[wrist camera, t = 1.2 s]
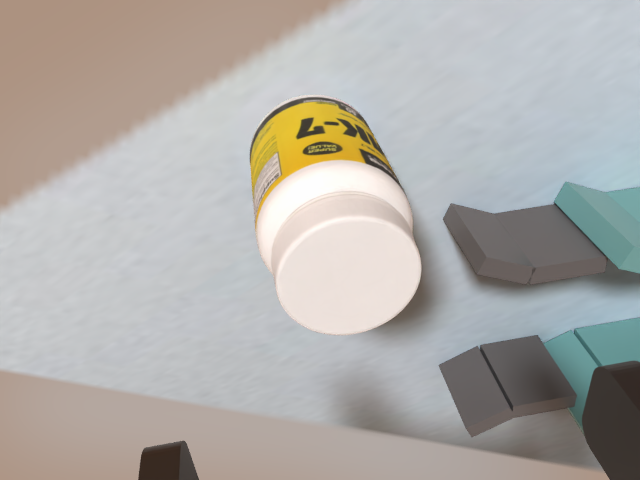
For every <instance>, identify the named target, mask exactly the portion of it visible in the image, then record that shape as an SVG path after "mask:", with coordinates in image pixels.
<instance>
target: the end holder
mask: <svg viewBox="0 0 640 480" xmlns="http://www.w3.org/2000/svg"><path fill="white" fill-rule="evenodd" d="M554 202H555V203H556V204H557V205H558V206H559V207H560V208H561V209H562V211H563V212H564V213H565V214H566V215H567V216H568V217H569V218H570V219H571V220H572V221H573V222H574V223H575V224H576V225H577V226H578V227H579V228H580V229H581V230H582V231H583V232H584V233H585V234H586V235H587V236H588V237H589V239H590V240H591V241H592V242H593V243H594V244H595V245H596V246H597V247H598V248H599V249H600V250H601V251H602V252H603V253H604V254H605V255H606V256H607V257H608V258H609V259H610V260H611V261H612V262H613V263H614V264H615V265H616V266H617V268H618V269H622V270H626V271H631V272H635V273H639V274H640V187H637V188H630V189H624V190H618V191H611V192H602V191H598V190H594V189H591V188H587V187H583V186H580V185H576V184H572V183H569V182H565V184H564V186H563V187H562V189H561V191H560V192H559V194H558V196H557V197H556V199H555V201H554ZM543 344H544V346H545V347H546V349H547V350H548V352H549V353H550V355H551V356H552V358H553V359H554V361H555V362H556V364H557V365H558V367H559V368H560V370H561V371H562V373H563V374H564V376H565V377H566V379H567V380H568V382H569V383H570V385H571V387H572V388H573V390H574V391H575V393H576V394H577V398H576V402H575V407H570V408H567V409H568V410H569V412H570V414H571V415H572V417H573V418H574V420H575V422H576V423H577V425H578V426H579V428H580V429H581V431H582V433H583V434H584V431H583V426H582V415H583V411H584V407H585V403H586V399H587V395H588V391H589V386H590V382H591V378H592V374H593V371H594V370H595V368H597V367H600V366H605V365H611V364H616V363H622V362H627V361H638V362H640V318H635V319H629V320H623V321H617V322H611V323H606V324H600V325H594V326H588V327H582V328H577V329H575V331H574V333H573V332H572V331H571V330H570V331H568V332H566V333H564V334H562V335H560V336H558V337H556V338H554V339H552V340H550V341H548V342H546V343H543ZM584 436H585V435H584Z"/></svg>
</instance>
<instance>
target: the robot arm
mask: <svg viewBox="0 0 640 480" xmlns="http://www.w3.org/2000/svg"><path fill="white" fill-rule="evenodd" d="M582 426H583V431H584V435H585V438H586V441H587V443H588V445H589V447H590V449H591V450H592V452H593V454H594V455H595V457H596V458H597V460H598V462H599V463H600V465H601V466H602V468H603V469H604V471H605V473H606V474H607V476H608V477H609V479H610V480H640V362H638V361H627V362H622V363H616V364H611V365H605V366H600V367H597V368H595V370H594V371H593V374H592V378H591V382H590V386H589V391H588V395H587V399H586V403H585V407H584V411H583V415H582ZM138 480H199V478H198V476H197V473H196V470H195V467H194V464H193V461H192V458H191V455H190V452H189V449H188V446H187V444H186V442H185V441H180V442H174V443H168V444H163V445H157V446H152V447H146V448H144V450H143V452H142V455H141V462H140V471H139V479H138Z"/></svg>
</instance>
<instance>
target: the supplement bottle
mask: <svg viewBox="0 0 640 480" xmlns="http://www.w3.org/2000/svg"><path fill="white" fill-rule="evenodd" d="M250 166H251V179H252V192H253V204H254V216H255V228H256V239H257V244H258V248H259V251H260V255H261V257H262V259H263V261H264V263H265V265H266V266H267V268H268V269H269V271H270V272H271V273H272V274H273V276H274V281H275V286H276V291H277V296H278V298H279V301H280V303H281V305H282V307H283V308H284V309H285V311H286V312H287V313H288V315H289V316H290V317H291V318H292V319H293V320H295V321H296V322H297V323H299V324H300V325H302V326H304V327H306V328H308V329H310V330H312V331H315V332H319V333H324V334H329V335H350V334H356V333H361V332H365V331H368V330H370V329H373V328H376V327H378V326H380V325H382V324H384V323H386V322H388V321H389V320H391V319H392V318H394V317H395V316H396V315H397V314H398V313H400V312H401V311H402V310H403V309H404V308H405V307H406V305H407V304H408V303H409V302H410V300H411V299H412V298H413V296H414V294H415V292H416V290H417V288H418V285H419V282H420V278H421V268H422V267H421V257H420V253H419V250H418V248H417V245H416V243H415V240H414V237H413V234H412V233H413V217H412V211H411V207H410V204H409V202H408V199H407V197H406V194H405V192H404V190H403V188H402V187H401V185H400V183H399V181H398V179H397V177H396V175H395V174H394V172H393V170H392V168H391V166H390V165H389V163H388V160H387V159H386V157H385V155H384V153H383V152H382V150H381V148H380V146H379V144H378V143H377V141H376V139H375V137H374V135H373V133H372V131H371V130H370V128H369V126H368V124H367V123H366V121H365V120H364V118H363V117H362V116H361V115H360V114H359V112H358V111H357V110H355V109H354V108H353V107H352V106H350V105H349V104H347V103H346V102H344V101H342V100H339V99H337V98H334V97H330V96H325V95H302V96H297V97H294V98H291V99H288V100H286V101H284V102H282V103H280V104H279V105H277V106H276V107H274V108H273V109H272V110H271V111H270V112H268V114H267V115H266V116H265V117H264V118H263V119H262V120H261V122H260V123H259V125H258V127H257V129H256V131H255V133H254V135H253V138H252V142H251V147H250Z"/></svg>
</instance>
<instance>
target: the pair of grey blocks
mask: <svg viewBox="0 0 640 480" xmlns="http://www.w3.org/2000/svg"><path fill="white" fill-rule="evenodd" d="M443 220H444V222H445V223H446V225H447V227H448V228H449V230H450V231H451V233H452V235H453V236H454V238H455V240H456V241H457V243H458V244H459V246H460V248H461V249H462V251H463V253H464V254H465V256H466V257H467V259H468V261H469V262H470V264H471V266H472V267H473V269H474V270H475V272H476V274H478V275H482V276H487V277H492V278H497V279H502V280H507V281H511V282H516V283H521V284H527V283H528V282H529V284H530V285H531V284H537V283H543V282H549V281H555V280H561V279H567V278H573V277H579V276H585V275H591V274H597V273H603V272H605V268H606V264H607V260H608V257H607V256H606V255H605V254H604V253H603V252H602V251H601V250H600V249H599V248H598V247H597V246H596V245H595V244H594V243H593V242H592V241H591V240H590V239H589V237H588V236H587V235H586V234H585V233H584V232H583V231H582V230H581V229H580V228H579V227H578V226H577V225H576V224H575V223H574V222H573V221H572V220H571V219H570V218H569V217H568V216H567V215H566V214H565V213H564V212H563V211H562V209H561V208H560V207H559V206H558V205H557V204H553V205H547V206H540V207H534V208H528V209H521V210H515V211H509V212H502V213H496V214H492V213H488V212H484V211H480V210H476V209H472V208H468V207H464V206H460V205H455V204H450V206H449V208H448V210H447V212H446V214H445V216H444V218H443ZM439 367H440V370H441V372H442V374H443V377H444V379H445V381H446V384H447V386H448V388H449V391H450V393H451V395H452V398H453V400H454V402H455V405H456V407H457V409H458V412H459V414H460V416H461V418H462V421H463V423H464V425H465V428H466V429H467V431H468V432H469V434H470V435H471V437H474V436H476V435H478V434H480V433H482V432H484V431H486V430H489V429H491V428H493V427H495V426H497V425H499V424H501V423H504V422H506V421H508V420H510V419H512V418H515V417H521V416H526V415H532V414H537V413H543V412H548V411H554V410H559V409H565V408H570V407H575V402H576V398H577V394H576V393H575V391H574V390H573V388H572V387H571V385H570V383H569V382H568V380H567V379H566V377H565V376H564V374H563V373H562V371H561V370H560V368H559V367H558V365H557V364H556V362H555V361H554V359H553V358H552V356H551V355H550V353H549V352H548V350H547V349H546V347H545V346H544V344H543V343H542V341H541V340H540V338H539V337H538V335H536V336H530V337H525V338H519V339H513V340H507V341H501V342H496V343H490V344H484V345H481V347H480V350H479V348H478V346H477V347H475V348H473V349H471V350H469V351H467V352H465V353H463V354H461V355H459V356H457V357H455V358H452V359H450V360H448V361H446V362H444V363H442V364H440V365H439Z"/></svg>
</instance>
